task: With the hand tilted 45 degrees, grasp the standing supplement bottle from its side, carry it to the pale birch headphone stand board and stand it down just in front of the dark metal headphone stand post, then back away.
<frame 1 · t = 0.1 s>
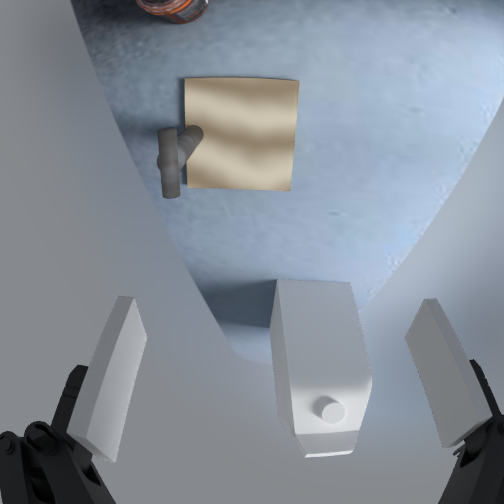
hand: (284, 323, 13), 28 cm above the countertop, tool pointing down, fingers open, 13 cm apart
supplement bottle: (184, 3, 26), on the countertop
headphone stand: (240, 133, 35), on the countertop
milk: (308, 306, 51), on the countertop
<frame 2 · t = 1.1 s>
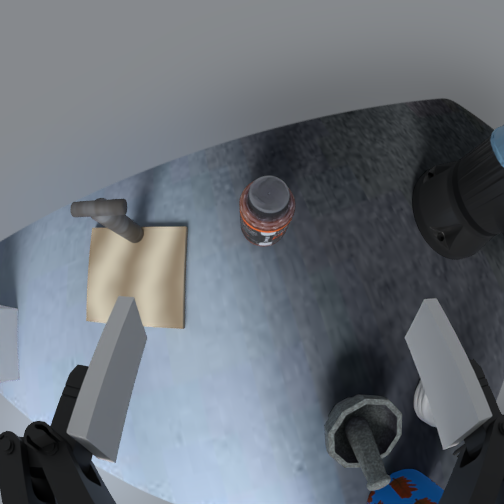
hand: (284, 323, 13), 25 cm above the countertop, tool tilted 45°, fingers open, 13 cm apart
supplement bottle: (263, 225, 40), on the countertop
headphone stand: (135, 276, 39), on the countertop
mortar and pestle: (349, 421, 36), on the countertop
thermos: (395, 493, 33), on the countertop
white round container: (437, 392, 36), on the countertop
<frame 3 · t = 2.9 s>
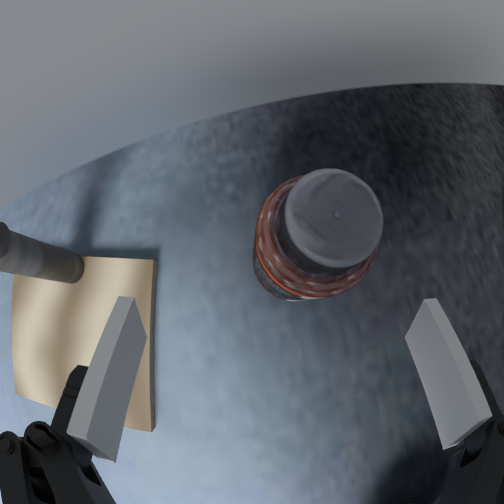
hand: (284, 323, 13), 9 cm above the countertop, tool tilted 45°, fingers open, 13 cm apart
supplement bottle: (293, 260, 22), on the countertop
headphone stand: (75, 337, 21), on the countertop
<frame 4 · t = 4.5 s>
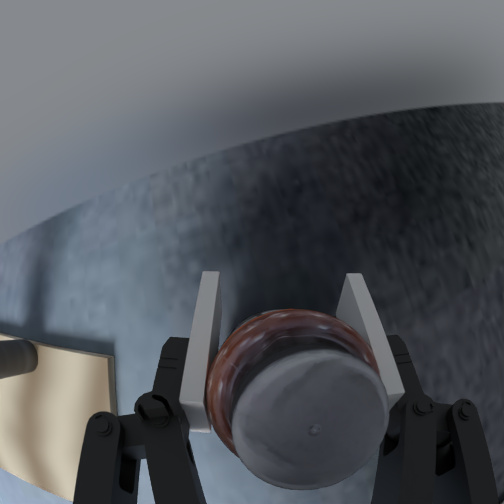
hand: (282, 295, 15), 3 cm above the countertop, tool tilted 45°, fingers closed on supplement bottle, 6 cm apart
supplement bottle: (274, 358, 17), on the countertop, touching gripper
headphone stand: (41, 422, 16), on the countertop
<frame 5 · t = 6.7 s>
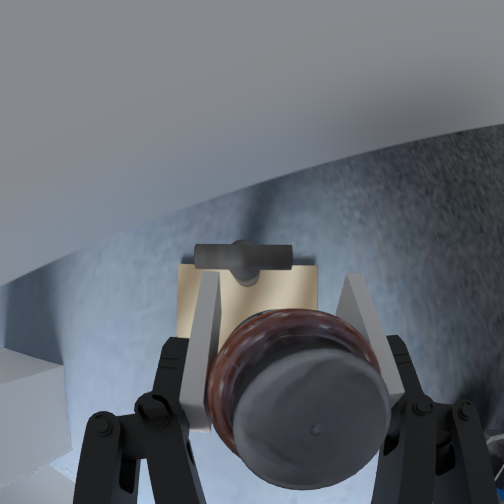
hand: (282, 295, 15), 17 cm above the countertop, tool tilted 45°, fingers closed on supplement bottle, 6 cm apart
supplement bottle: (275, 357, 17), point 13 cm above the countertop, touching gripper
headphone stand: (246, 329, 31), on the countertop
milk: (35, 398, 29), on the countertop
mortar and pestle: (456, 454, 27), on the countertop
when the fingers open (5 cm above the countertop, at t = 9.1 s): supplement bottle stays where it is, resting on headphone stand.
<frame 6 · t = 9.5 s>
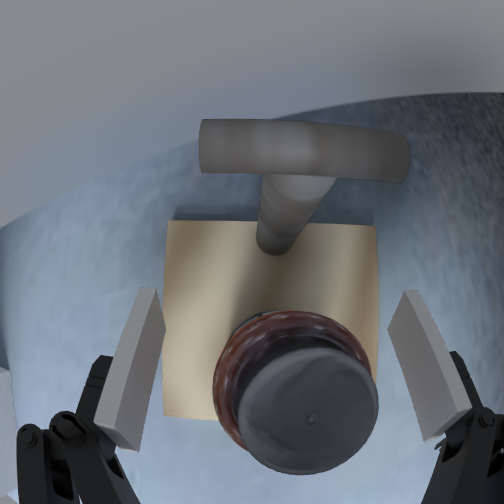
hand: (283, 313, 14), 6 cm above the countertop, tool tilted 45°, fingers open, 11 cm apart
supplement bottle: (273, 356, 18), point 1 cm above the countertop, touching headphone stand
headphone stand: (272, 323, 20), on the countertop
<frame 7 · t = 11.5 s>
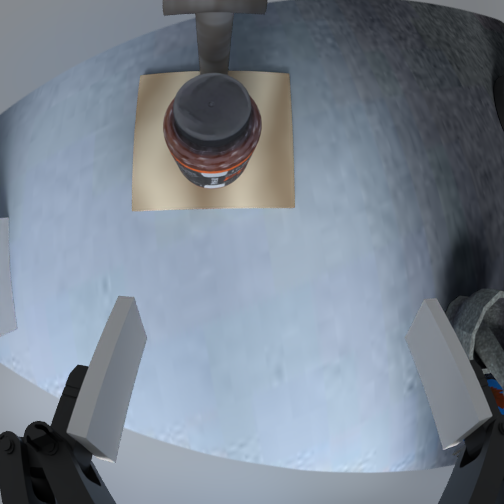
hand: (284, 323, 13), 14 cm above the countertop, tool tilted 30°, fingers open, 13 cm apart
supplement bottle: (212, 156, 25), point 1 cm above the countertop, touching headphone stand
headphone stand: (212, 137, 26), on the countertop
mortar and pestle: (457, 324, 31), on the countertop
thermos: (476, 407, 33), on the countertop
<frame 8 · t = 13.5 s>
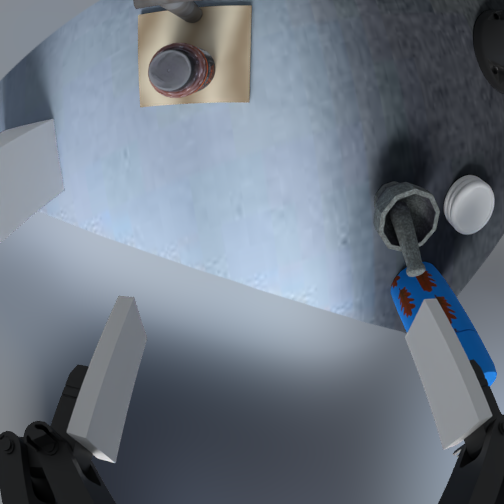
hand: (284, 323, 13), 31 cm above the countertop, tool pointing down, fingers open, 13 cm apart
supplement bottle: (192, 69, 32), point 1 cm above the countertop, touching headphone stand
headphone stand: (193, 54, 31), on the countertop
milk: (33, 158, 38), on the countertop
mortar and pestle: (391, 203, 43), on the countertop
thermos: (414, 282, 52), on the countertop
white round container: (464, 199, 42), on the countertop
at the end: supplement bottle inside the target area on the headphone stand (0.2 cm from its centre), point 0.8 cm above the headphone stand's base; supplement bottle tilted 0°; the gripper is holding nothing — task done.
